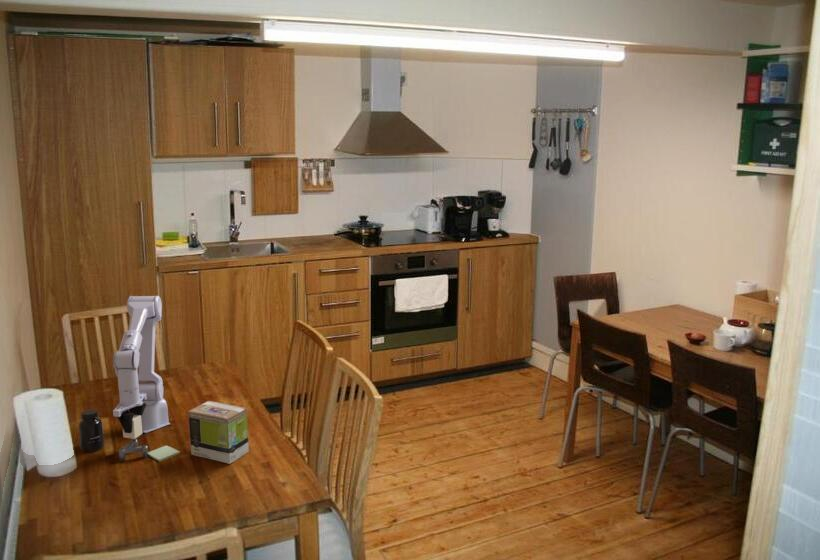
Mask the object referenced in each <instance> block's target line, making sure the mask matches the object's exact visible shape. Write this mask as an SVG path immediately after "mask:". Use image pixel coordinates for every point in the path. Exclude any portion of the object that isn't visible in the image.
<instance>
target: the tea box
mask: <svg viewBox="0 0 820 560" xmlns="http://www.w3.org/2000/svg"><path fill="white" fill-rule="evenodd" d="M247 410H248V408H247V407H243V406H238V405H233V404H229V403H224V402H219V401H212V400H207V401H206V402H204V403H201V404H200V405H198V406H195V407H194V408H191V409H190V410H188V425H189V427H188V428H189V440H190V441H189V442H190V453H191V455H192V456H194V457H195V456H196V457H198V458H199V457H200V458H204V459H208V460H212V461H217V462H220V463H223V464H229V465H231V464H233V463H234V462H235V461H237V460H239V459H240V458H241V457H243V456H245V455H246V454H247V453H249V450H250V449H249V446H250V445H249V430H248V428H249V427H248V426H249V425H248V411H247Z"/></svg>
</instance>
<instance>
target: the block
mask: <svg viewBox="0 0 820 560" xmlns="http://www.w3.org/2000/svg"><path fill="white" fill-rule="evenodd" d="M141 435H143V432H142V421H141V415H134V416H133V420H132V432H131V433H125V432H124V430H123V429H122V436H123V438H127V439H131V440H132V439H138V437H140V436H141Z"/></svg>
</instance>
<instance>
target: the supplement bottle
mask: <svg viewBox="0 0 820 560" xmlns="http://www.w3.org/2000/svg"><path fill="white" fill-rule="evenodd" d="M80 418H81V419H80V421H79V422H78V433H79V434H78V435H79V445H80V446H79V447H80V450H81V451H83V452H85V451H86V453H88V452H89V453H90V452H91V453H93V452H96V451H99V450H101V449H103V447H104V445H105V442H104V440H105V439H104V429H103V426H104V425H103V420H102V419H101V418H100V417H99V410H98V409H94V408H93V409H92V408H90V409H84V410H82V411H81V413H80ZM92 451H93V452H92Z"/></svg>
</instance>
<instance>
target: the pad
mask: <svg viewBox="0 0 820 560" xmlns="http://www.w3.org/2000/svg"><path fill="white" fill-rule="evenodd" d="M180 452H181V451H179V450H177V449H175V448H173V447H172V446H170V445H169V446H168V445H163V446H161V447H158V448H155V449H153V450H150V451H148V454H149V457H150V458H152V459H154V460H156V461H158V462H162V461H165V460H167V459H169V458H173V457H174V456H178V455H179V453H180Z"/></svg>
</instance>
